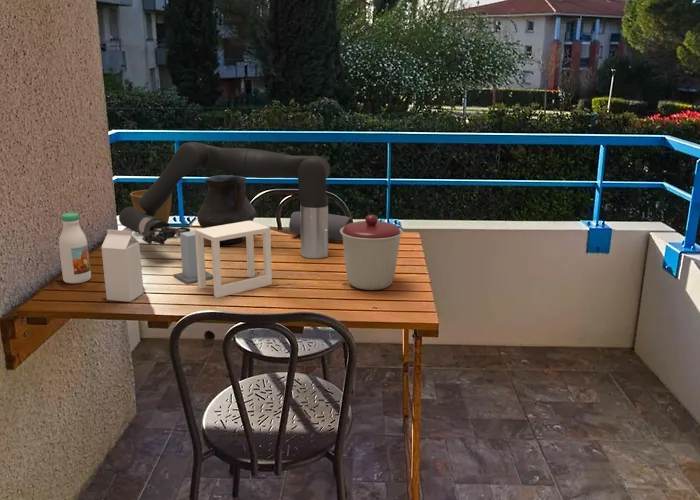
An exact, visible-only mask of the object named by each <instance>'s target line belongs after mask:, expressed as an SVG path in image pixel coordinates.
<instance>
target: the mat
mask: <svg viewBox="0 0 700 500" xmlns="http://www.w3.org/2000/svg"><path fill="white" fill-rule="evenodd" d="M205 274H206V276H205V279H206V281H209V280H213V273H211V272H208V271H206V270H205ZM173 277H174V278H176V279H177V280H179V281H180V282H182V283H184V284H185V285H188V286H189V285H190V284H196V283H197V284H198V277H196V278H192V279H190V278H188V277H186V276H184V275H183V272H179V273H174V274H173Z"/></svg>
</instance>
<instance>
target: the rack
mask: <svg viewBox="0 0 700 500" xmlns="http://www.w3.org/2000/svg"><path fill="white" fill-rule="evenodd" d="M194 231H195V241H196V257H197V274H198V282H197V288H199V289H202V290H203V289H206V288H207V283H206V281H207V280H206V279H205V271H206V261H205V262H204V257H205V243H204V244H203V239H206V240H209V241H210V240H211V241H210V244H211V260H212V261H211V262H212V275H213V279H212V280H213V281H212V282H213V296H214V297H215V298H216V299H218V298H222V297H227V296H230V295H234V294H238V293H242V292H247V291H250V290H254V289H258V288H263V287H267V286H270V285H271V286H272V284H273V277H272V250H271V249H272V245H271V244H272V242H271V239H272V238H271V237H272V235H271V234H272V233H271V227H270V226H267V225H264V224H261V223H259V222H255V221H254V220H253V221H244V222H238V223H232V224H226V225H220V226H214V227H208V228H202V227H201V228H197V229H194ZM261 234H262V253H263V254H262V255H263V257H262V258H263V275H259V276H256V271H255V246H254V245H255V244H254V235H261ZM238 237H244V238H245V242H246V243H245V245H246V248H245V250H246V270H247V271H246V275H247V277H248V278H246V279H242V280H238V281H234V282H229V283H225V284H222V270H221V267H222V266H221V249H220V248H221V247H220V246H221V244H220V243H219V241H222V240H228V239H233V238H238Z"/></svg>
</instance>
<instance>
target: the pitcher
mask: <svg viewBox="0 0 700 500" xmlns="http://www.w3.org/2000/svg"><path fill="white" fill-rule="evenodd" d="M246 180H247V176H243V175H226V174H225V175H224V174H223V175H222V174H221V175H213V176H209V177H206V178H205V179H204V181H205V182H206V184H207V186H208V187H207V191H206V195H205V198H204V202H203V203H202V205H201V207H200V209H198V212H197V215H196V217H197V222H198V224H199V226H200V227H201V229H202V228H208V227H214V226H220V225H226V224H232V223H238V222H244V221H253V222H254V219H255V217H256V215H257V212H256V209H255V207H254V206H253V205H252V203H251V202H250V200H249V199H248V198H247V195H246V194H247V187H246ZM244 238H245V236H244V237H238V238H233V239H228V240H222V241H219V243H220V245H234V244H239V243H241V242H242V240H243V239H244ZM209 241H210V242H211V240H209Z"/></svg>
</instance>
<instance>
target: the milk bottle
mask: <svg viewBox="0 0 700 500" xmlns="http://www.w3.org/2000/svg"><path fill="white" fill-rule="evenodd" d="M79 222H80V216H79V213H76V212H65V213H62V214H61V223H62V225H63V226H62V230H61V233H60V236H59V239H58V240H59V241H58V246H59V247H58V248H59V257H60V264H61V266H60V267H61V273H62V279H63V282H65V283H67V284H82V283H85V282H87V281H90V280H91V278H92V272H91V270H92V269H91V264H90V262H91V261H90V253H89V247H88V241H87V237H86V235H85V233H84V232H83V230H82V228H81V226H80V224H79Z"/></svg>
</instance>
